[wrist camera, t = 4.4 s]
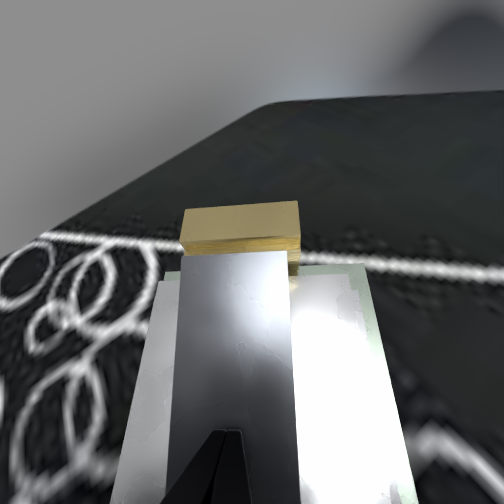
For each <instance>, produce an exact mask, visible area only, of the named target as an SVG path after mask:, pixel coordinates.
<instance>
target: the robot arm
mask: <svg viewBox="0 0 504 504" xmlns="http://www.w3.org/2000/svg"><path fill="white" fill-rule="evenodd" d="M159 504H252V497H251V491H250V484H249V478H248V471H247V465H246V458H245V452H244V445H243V439H242V432H241V430H234V429H230V430H228V431H227V430H226V429H214V430H213V431H212V432H211V433H210V435H209V436H208V438H207V439H206V440H205V442H204V443H203V444H202V446H201V447H200V449H199V450H198V451H197V453H196V454H195V455H194V457H193V458H192V460H191V461H190V462H189V464H188V465H187V466H186V468H185V469H184V471H183V472H182V473H181V475H180V476H179V477H178V479H177V480H176V482H175V483H174V484H173V486H172V487H171V488H170V490H169V491H168V492H167V494H166V495H165V497H164V498H163V499H162V501H161V502H160V503H159Z"/></svg>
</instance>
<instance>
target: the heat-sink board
mask: <svg viewBox="0 0 504 504" xmlns="http://www.w3.org/2000/svg"><path fill="white" fill-rule="evenodd" d="M179 242H180V244H181V245H182V246H183V248H184V249H185V253H184V256H193V255H212V254H231V253H250V252H269V251H287V264H288V282H289V299H290V317H291V335H292V353H293V371H294V389H295V407H296V425H297V442H298V460H299V478H300V496H301V504H418V500H417V495H416V491H415V487H414V482H413V478H412V473H411V469H410V465H409V460H408V456H407V451H406V447H405V443H404V438H403V434H402V430H401V425H400V421H399V416H398V412H397V408H396V403H395V399H394V394H393V390H392V386H391V381H390V377H389V372H388V368H387V364H386V359H385V355H384V350H383V346H382V342H381V337H380V333H379V329H378V324H377V320H376V315H375V311H374V307H373V302H372V298H371V293H370V289H369V285H368V280H367V276H366V271H365V267H364V263H360V264H337V265H315V266H299V260H300V250H301V249H300V224H299V213H298V203H297V201H288V202H275V203H262V204H249V205H236V206H223V207H210V208H197V209H185V214H184V219H183V225H182V230H181V235H180V240H179ZM180 273H181V271H180V272H165V277H164V281H159V283H158V288H157V292H156V296H155V300H154V304H153V309H152V314H151V318H150V323H149V327H148V332H147V336H146V341H145V346H144V350H143V355H142V359H141V364H140V369H139V373H138V378H137V382H136V387H135V391H134V396H133V401H132V405H131V410H130V414H129V419H128V423H127V428H126V433H125V437H124V442H123V446H122V451H121V455H120V460H119V465H118V469H117V474H116V478H115V483H114V487H113V492H112V497H111V501H110V504H159V503H160V502H161V501H162V499H163V498H164V497H165V489H166V474H167V460H168V446H169V431H170V417H171V403H172V388H173V374H174V360H175V345H176V331H177V316H178V302H179V288H180Z"/></svg>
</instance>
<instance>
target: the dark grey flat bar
mask: <svg viewBox="0 0 504 504" xmlns="http://www.w3.org/2000/svg"><path fill="white" fill-rule="evenodd" d="M214 429H226V430H227V431H228V430H230V429H234V430H241V432H242V439H243V445H244V452H245V458H246V465H247V471H248V478H249V484H250V491H251V497H252V504H301V496H300V478H299V460H298V442H297V425H296V407H295V389H294V371H293V353H292V335H291V317H290V299H289V282H288V264H287V251H269V252H250V253H231V254H212V255H193V256H182V259H181V273H180V288H179V302H178V316H177V331H176V345H175V360H174V374H173V388H172V403H171V417H170V431H169V446H168V460H167V474H166V489H165V495H166V494H167V492H168V491H169V490H170V488H171V487H172V486H173V484H174V483H175V482H176V480H177V479H178V477H179V476H180V475H181V473H182V472H183V471H184V469H185V468H186V466H187V465H188V464H189V462H190V461H191V460H192V458H193V457H194V455H195V454H196V453H197V451H198V450H199V449H200V447H201V446H202V444H203V443H204V442H205V440H206V439H207V438H208V436H209V435H210V433H211V432H212V431H213V430H214Z"/></svg>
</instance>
